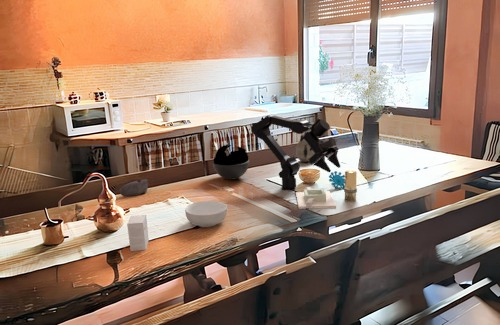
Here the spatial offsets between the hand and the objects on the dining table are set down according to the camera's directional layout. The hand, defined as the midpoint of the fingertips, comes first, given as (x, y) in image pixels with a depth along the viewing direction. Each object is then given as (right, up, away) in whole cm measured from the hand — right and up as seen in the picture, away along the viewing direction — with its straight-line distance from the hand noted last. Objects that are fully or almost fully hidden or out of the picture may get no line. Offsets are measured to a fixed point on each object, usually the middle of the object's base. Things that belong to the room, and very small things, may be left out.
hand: (335, 169), depth 198 cm
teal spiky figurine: (+5, -9, +17) cm, 20 cm away
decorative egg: (-5, +3, +68) cm, 69 cm away
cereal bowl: (-56, -22, -22) cm, 64 cm away
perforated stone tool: (-97, -13, +19) cm, 99 cm away
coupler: (+7, -14, -2) cm, 15 cm away
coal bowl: (-49, -6, +39) cm, 63 cm away
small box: (-79, -27, -41) cm, 93 cm away
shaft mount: (-9, -14, -1) cm, 17 cm away
